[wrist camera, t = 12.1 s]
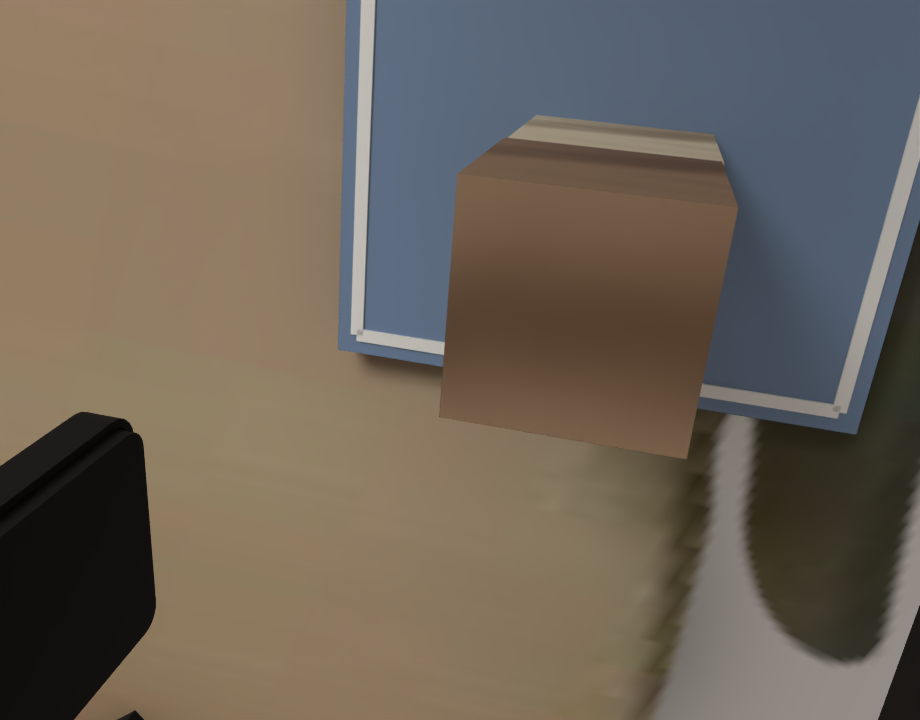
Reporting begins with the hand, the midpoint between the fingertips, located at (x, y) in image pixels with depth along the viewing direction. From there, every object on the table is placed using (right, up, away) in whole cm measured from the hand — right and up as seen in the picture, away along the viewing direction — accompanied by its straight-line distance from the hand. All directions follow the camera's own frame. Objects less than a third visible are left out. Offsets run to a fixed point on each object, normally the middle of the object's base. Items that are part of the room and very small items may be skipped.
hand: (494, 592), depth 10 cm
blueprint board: (+5, +10, +21) cm, 24 cm away
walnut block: (+4, +6, +15) cm, 16 cm away
